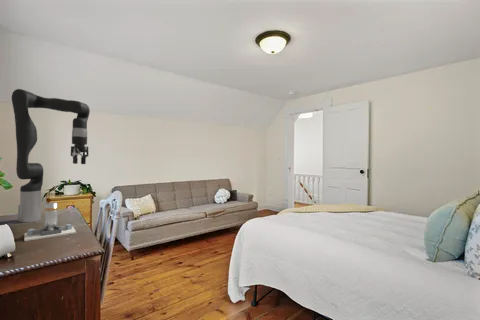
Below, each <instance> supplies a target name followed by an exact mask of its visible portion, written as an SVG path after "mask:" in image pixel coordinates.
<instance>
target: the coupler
mask: <svg viewBox="0 0 480 320" xmlns="http://www.w3.org/2000/svg"><path fill="white" fill-rule="evenodd" d="M44 207H45V210H44V211H45V217H44V221H45V222H44V228H45V232H46V231H53V230H57V226H58V210H59V207H58V202H47V203H45V206H44Z"/></svg>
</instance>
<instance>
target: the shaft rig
mask: <svg viewBox="0 0 480 320" xmlns="http://www.w3.org/2000/svg"><path fill="white" fill-rule="evenodd" d="M75 234H77V230H76V228H75V227H74V226H73V224H71V223H66V224H65V225H59V226H58V225H57V230H53V231H46V232H45V227H44V228H39V229H35V228H29V229H27V232H25V233H24V237H23V238H24V242H29V241H35V240H36V241H37V240H42V239H48V238H55V237H62V236H68V235H75Z"/></svg>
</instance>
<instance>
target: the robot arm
mask: <svg viewBox="0 0 480 320" xmlns="http://www.w3.org/2000/svg"><path fill="white" fill-rule="evenodd" d="M11 102H12V108H13V114H14V122H15V123H14V124H15V125H14V126H15V140H16V165H15V167H16V170H15V171H16V176H17V178H18V179H20V180H29V182H27V183H26V184H23V185H21V186H20V190H19V191H20V195H19V200H20V201H19V204H18V205H17V206H18V209H17V210H18V213H17V214H18V215H17V218H18V219H17V222H19V223H30V222H31V223H32V222H37V221H41V219H42V218H41V217H42V186H43V182H44V166H43V165H42V164H41V163H40V162H29V155H30V153H31V152H32V150H33V148H34V147H35V146H36V144H37V143H38V131H37V127H36V125H35V124H34V123H35V122H34V121H33V120H32V118H31V116H30V113H29V109H48V110H53V111H58V112H65V113H73V114H76V115H77V116H76V117H75V118H73V119H72V130H71V144H72V145H71V146H70V156H71V157H72V163H73V164H74V165H77V164H78V162H79V161H78V156H79V155H80V164H81V165H86V161H87V159H86V158H87V157H89V146H86V145H87V144H88V129H87V128H88V120H89V116H90V112H91V111H90V107H89V105H88V104H86V103H84V102H82V101H78V100H70V99H69V100H68V99H64V98H57V97H50V98H49V97H43V96H40V95H37V94H34V93H32V92H30V91H28V90H25V89H22V88H17V89H15V90H14V91H12V94H11Z"/></svg>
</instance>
